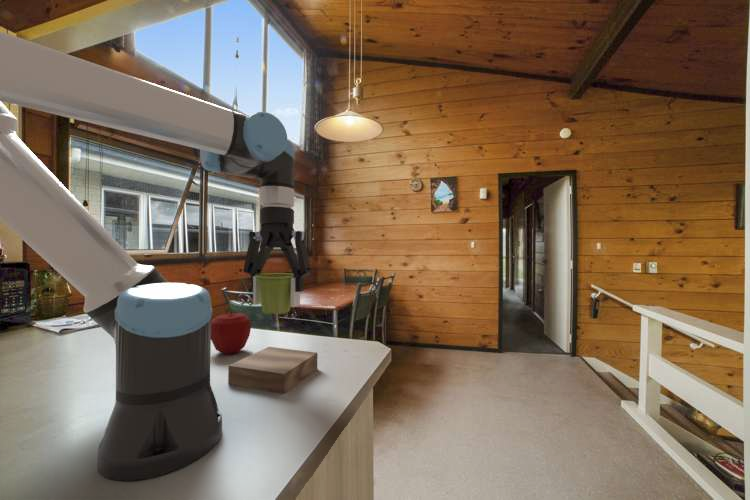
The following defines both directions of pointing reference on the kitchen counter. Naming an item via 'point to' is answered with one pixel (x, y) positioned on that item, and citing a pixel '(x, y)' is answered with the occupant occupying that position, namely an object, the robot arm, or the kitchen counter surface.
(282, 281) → the plant pot
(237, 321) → the apple
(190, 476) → the kitchen counter surface
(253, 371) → the walnut plinth
